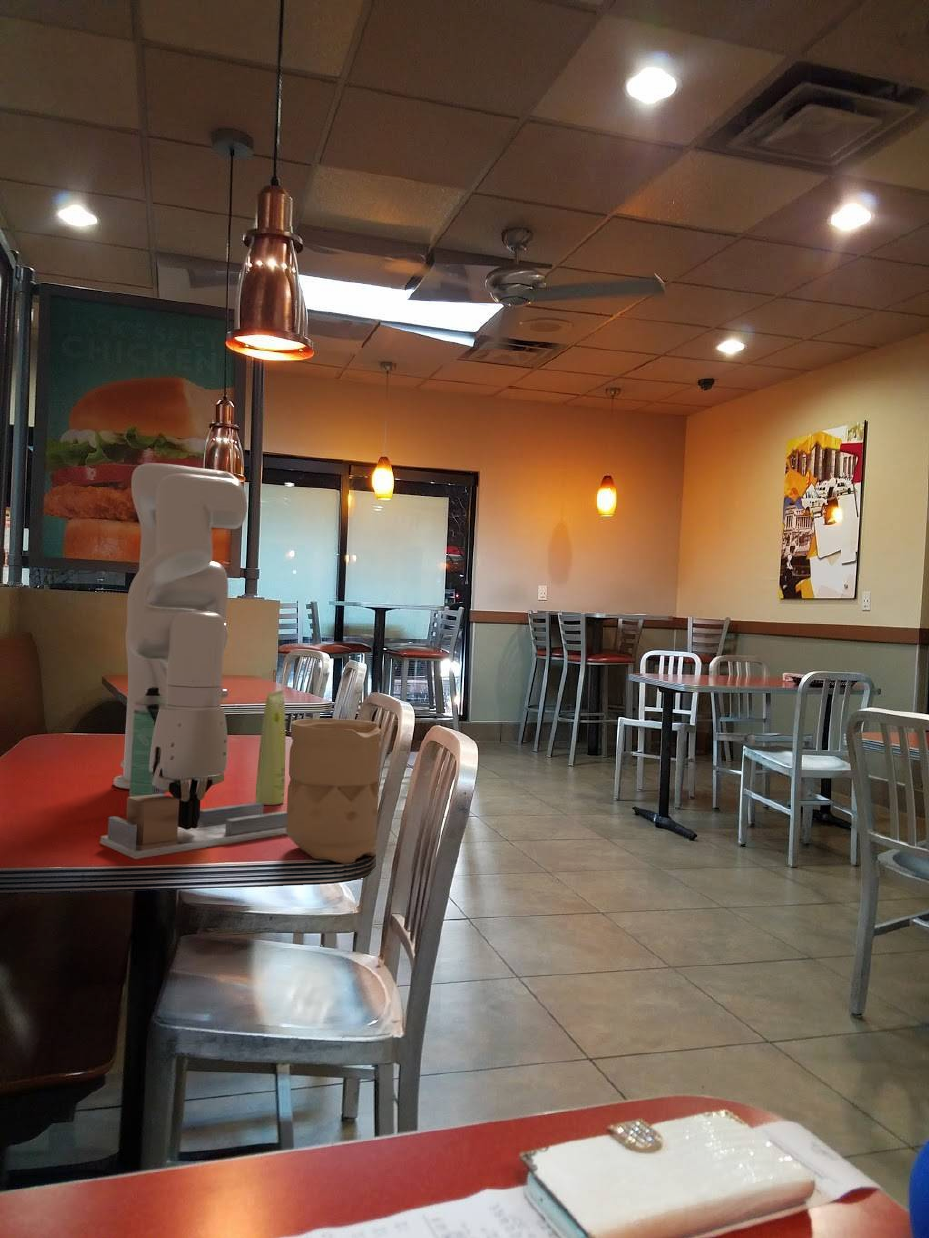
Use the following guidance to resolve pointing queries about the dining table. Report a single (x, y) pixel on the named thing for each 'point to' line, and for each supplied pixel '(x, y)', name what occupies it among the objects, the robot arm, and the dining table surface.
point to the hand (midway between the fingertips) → (186, 826)
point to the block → (153, 817)
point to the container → (334, 788)
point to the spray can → (144, 743)
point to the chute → (200, 831)
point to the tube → (272, 752)
